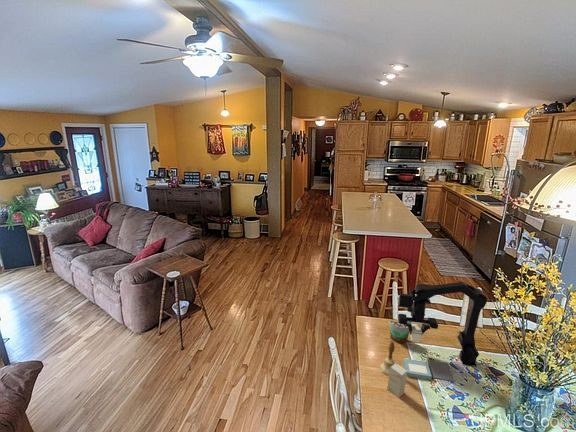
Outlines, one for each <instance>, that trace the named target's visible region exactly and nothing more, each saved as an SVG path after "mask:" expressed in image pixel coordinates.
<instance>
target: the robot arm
mask: <svg viewBox="0 0 576 432" xmlns="http://www.w3.org/2000/svg"><path fill="white" fill-rule="evenodd" d="M459 293H462V294H463V295H465V296H466V297H468V298H469V310H468V314H467V318H466V322H465V326H464V329H463V330H462V331H461V330H459V331H458V335H457V339H458V342H459V344H460V346H461V350H460V351H459V354H458V358H459V360H460V362H461V364H462V365H463V366H464V365H465V366H470V367H477V366H478V365H477V363H476V362H477V358H478V357H479V356H480V353H479V351H478V349H477V347H476V339H475V338H476V337H475V333H476V330H477V326H478V322H479V318H480V314H481V312H482V310H483V309H484V308H485V307H486V305H487V303H488V298H487V296H486V294H485V293H484V292H483V290H482V289H480V288H478V287H477V288H476V287H474V286H472V285H470V284H468V283H466V282H465V281H462V280H461V281H458V282H451V283H450V282H449V283H442V284H433V285H432V284H429V283H418V284H416V286H415V287H414V288H413V290H411V291H410V293H409V294H407V293H405V294H404V293H402V292H401V293H399V296H398V299H397V305H398V307H399V308H406V312H408V313H410V316H411V317H407V314H406V313H405V314H404V313H398V314H397V321H398V323H399V324H404V325H406V326H408V328H409V331H410V332H409V335H411V333H412V325H411V324H412V323H414V324H421V325H420V327H421V330H422V336H423V335H424V334H425V332H427V331H428V330H431V329H433V330H434V329H435V330H437V329H438V328H439V323H438V320H437V318H435V317H430V316H429V317H427V318H425V316H426V308H427V304H429V305H430V304H432V302H431V298H433V297H435V296H439V295H447V294H448V295H450V294H459Z"/></svg>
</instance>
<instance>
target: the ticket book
mask: <svg viewBox="0 0 576 432" xmlns="http://www.w3.org/2000/svg"><path fill="white" fill-rule="evenodd" d="M403 365H404V369H406V370H407V371H408V372H407V377H409V378H410V377H411V378H416V379H423V380H430V381H431V380H432V379H433V376H432V372H431V369H430V366H429V362H428V360H426V361H425V360H419V359H414V358H413V359H412V358H407V357H403Z"/></svg>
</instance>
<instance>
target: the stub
mask: <svg viewBox="0 0 576 432" xmlns="http://www.w3.org/2000/svg"><path fill="white" fill-rule="evenodd" d="M411 325H412V333H411V335H410V334H409V335H410V339H411V342H417V343H421V342H422V338H423V335H422V330H421V324H419V323H411Z"/></svg>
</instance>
